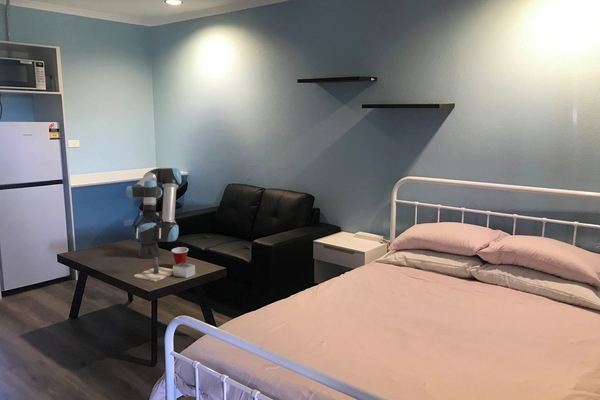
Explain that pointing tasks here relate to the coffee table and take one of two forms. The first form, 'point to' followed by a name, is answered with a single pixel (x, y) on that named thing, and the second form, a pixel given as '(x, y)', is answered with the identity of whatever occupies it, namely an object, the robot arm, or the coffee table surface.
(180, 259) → the plastic cup
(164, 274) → the keeper board
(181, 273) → the white box
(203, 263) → the coffee table surface
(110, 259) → the coffee table surface
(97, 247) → the coffee table surface
